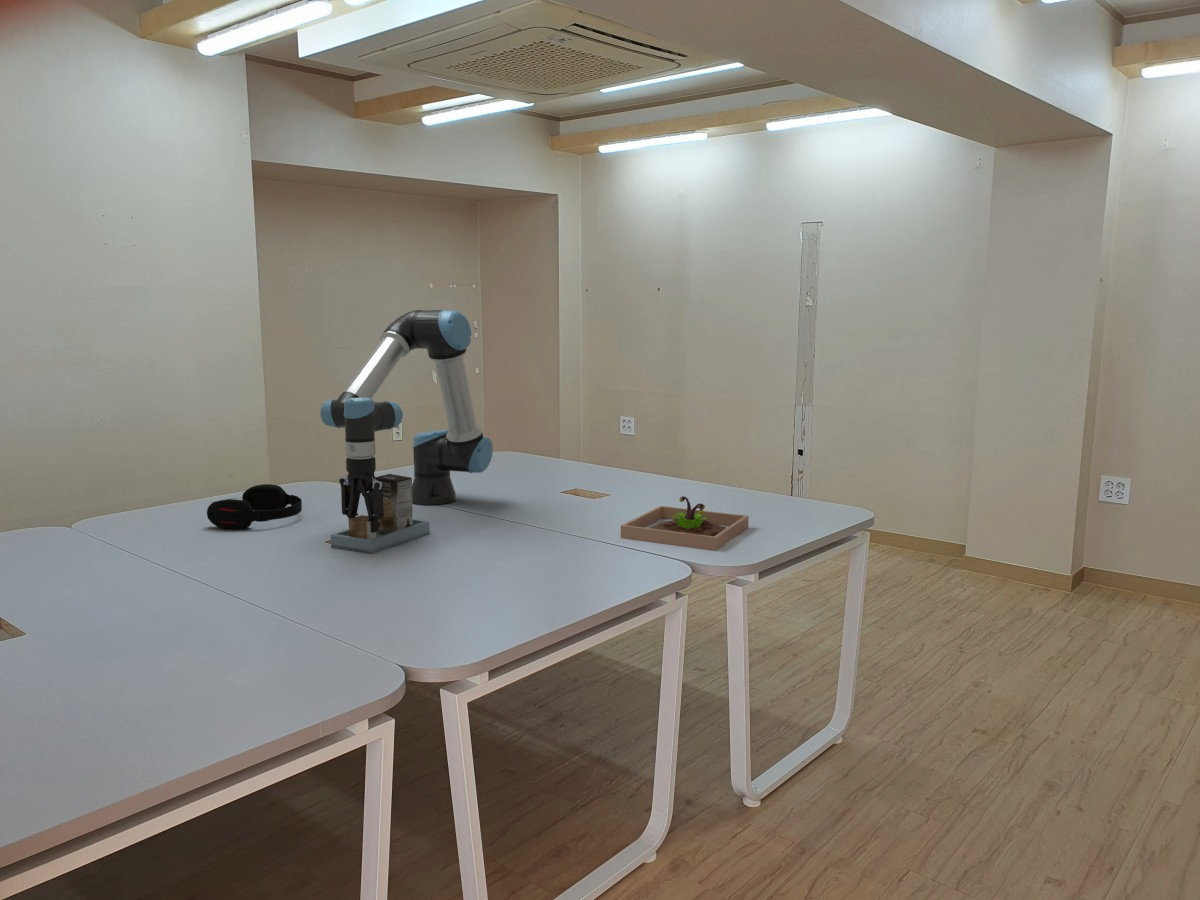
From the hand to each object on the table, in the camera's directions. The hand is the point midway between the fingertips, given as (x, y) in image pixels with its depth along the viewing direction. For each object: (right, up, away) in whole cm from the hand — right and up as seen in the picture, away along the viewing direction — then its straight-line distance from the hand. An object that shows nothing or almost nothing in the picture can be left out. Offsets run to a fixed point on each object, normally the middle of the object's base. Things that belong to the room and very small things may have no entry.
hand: (363, 542), depth 233 cm
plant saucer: (+88, +1, +16) cm, 89 cm away
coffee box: (+6, +1, +11) cm, 12 cm away
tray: (+3, 0, +6) cm, 7 cm away
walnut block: (0, 0, 0) cm, 0 cm away
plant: (+88, 0, +14) cm, 89 cm away
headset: (-42, +3, +30) cm, 51 cm away
